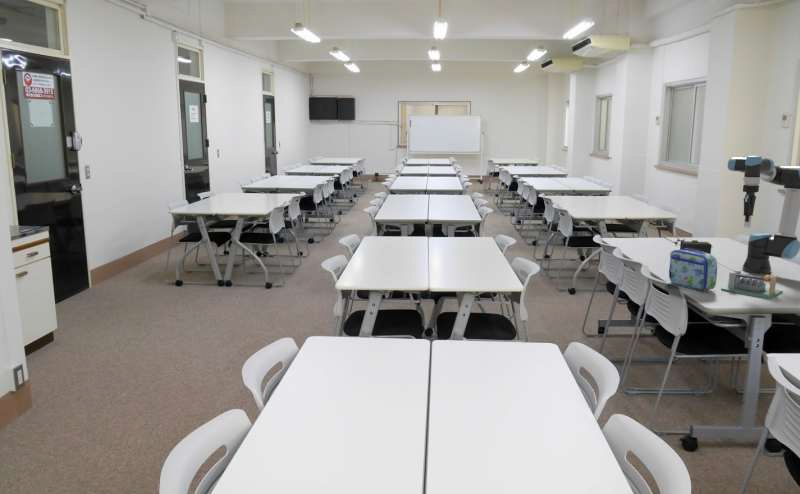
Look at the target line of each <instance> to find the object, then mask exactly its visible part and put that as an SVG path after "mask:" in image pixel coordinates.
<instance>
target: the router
mask: <svg viewBox="0 0 800 494" xmlns="http://www.w3.org/2000/svg"><path fill="white" fill-rule="evenodd" d="M684 248H689V249H690V250H695V251H700V252H705V253H708V254H711V255H712V248H713V245H712V244H711V243H710V242H709V241H699V240H697V239H694V240H693V239H692V240H691V241H688V240H687V241H686V240H685V241H680V247H679V250H682V249H684Z"/></svg>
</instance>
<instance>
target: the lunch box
mask: <svg viewBox="0 0 800 494" xmlns="http://www.w3.org/2000/svg"><path fill="white" fill-rule="evenodd" d="M671 251H672V252H670V253H671V254H670V257H669V258H670V260H669V269H668V278H669V280H670V282H671V283H670V284H672V283H673V284H672V285H676V284H677V285H678V286H681V287H685V288H688V289H692V290H695V291H707V290H713V289H714V288H715V287H716V284H717V276H718V261H717V258H716V257H715V256H714V255H713V254H712V253H711V254H708V253H705V252H700V251H695V250H690V249H689V248H684V249H682V250H680V249H674V250H671ZM677 285H676V286H677Z"/></svg>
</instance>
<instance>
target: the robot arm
mask: <svg viewBox="0 0 800 494" xmlns="http://www.w3.org/2000/svg"><path fill="white" fill-rule="evenodd" d="M727 169H728V170H729V171H732V172H739V173H743V175H744V176H743V178H742V180H743V186H742V192H744V193H745V195H744V198H743V215H742V216H744V223H743V228H748V229H750V228H751V223H752V217H753V216H754V210H755V204H756V199H757V196H756V194H755V193H759V191H760V181H761V180H762V181H763V182H767V183H769V184H772V185H776V186H781V187H783V189H784V191H785V195H784V200H783V205H782V209H781V214H780V215H781V216H780V220H779V226H778V230H777V232H776V233H774V235H773V234H771V233H765V232H764V233H763V232H762V233H751V234H750V235H749V238H748V243H747V244H748V245H747V254H746V255H747V256H746V259H745V261H744V263H743V265H742V270H743V271H745V272H749V273H754V274H755V273H756V274H770V273H771V272H772V267H771V262H770V257H774V258H778V259H779V258H780V259H787V260H792V259H794V258H795V257H797V256H798V254H799V252H800V240H798V236H797V235H796V231H797V226H798V221H799V218H800V217H799V216H800V166H796V165H795V166H794V165H793V166H792V165H791V166H790V165H789V166H788V165H775V162H774V161H773V159H771V158H762V156H761V155H747V156H746V157H731V158H729V159H728V161H727Z"/></svg>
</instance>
